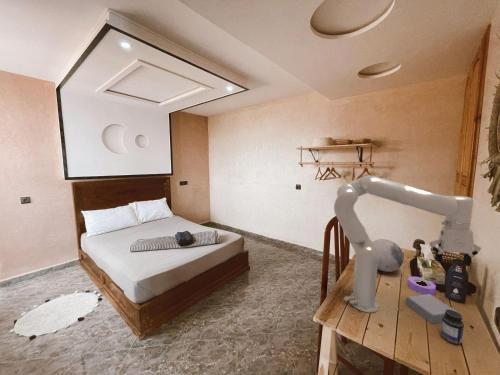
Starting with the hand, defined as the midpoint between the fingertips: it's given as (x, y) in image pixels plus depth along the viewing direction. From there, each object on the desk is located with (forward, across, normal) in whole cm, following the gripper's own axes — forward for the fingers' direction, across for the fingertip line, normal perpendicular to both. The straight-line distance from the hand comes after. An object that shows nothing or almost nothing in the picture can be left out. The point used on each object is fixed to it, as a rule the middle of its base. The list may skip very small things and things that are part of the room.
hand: (452, 263), depth 89 cm
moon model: (+26, -13, +40) cm, 49 cm away
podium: (+26, -4, +3) cm, 27 cm away
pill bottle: (+26, -5, -13) cm, 30 cm away
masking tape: (+26, 0, +23) cm, 35 cm away
